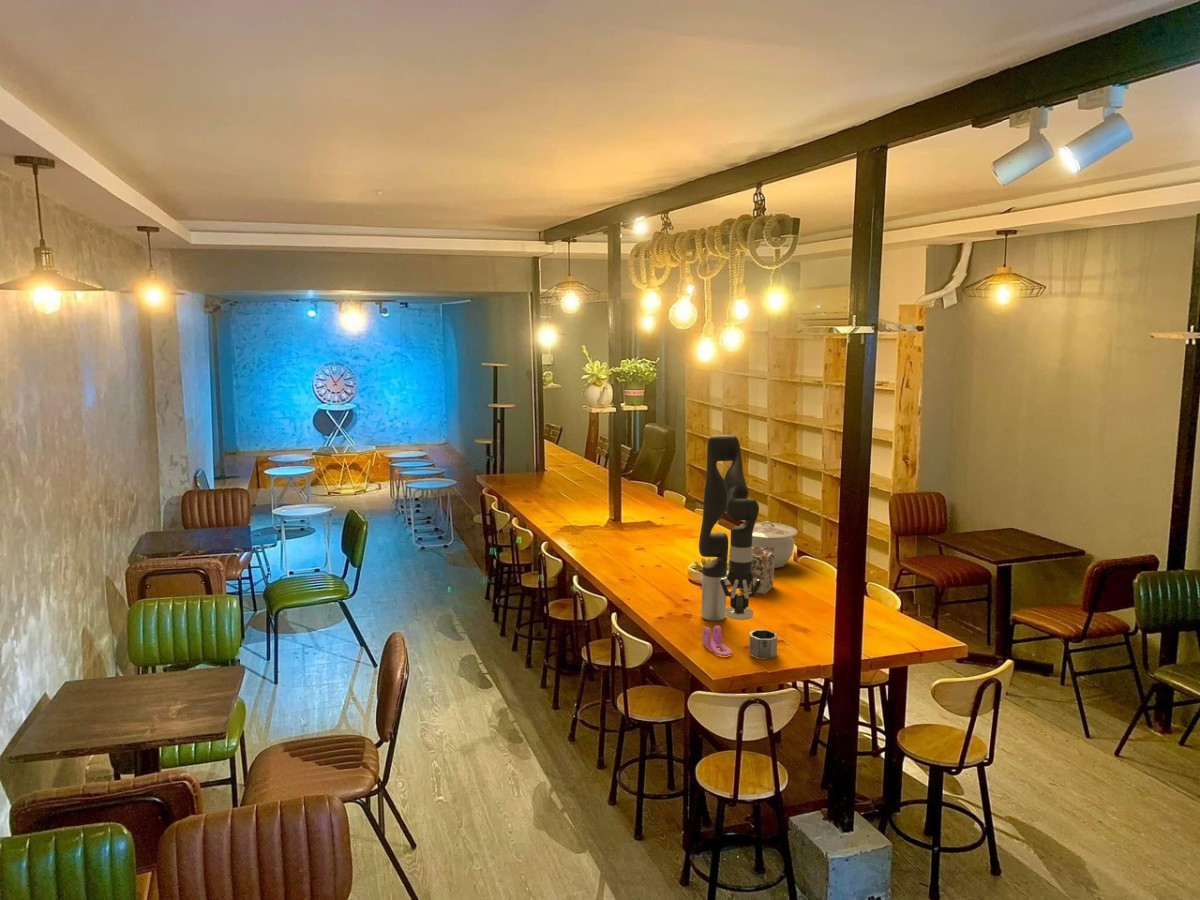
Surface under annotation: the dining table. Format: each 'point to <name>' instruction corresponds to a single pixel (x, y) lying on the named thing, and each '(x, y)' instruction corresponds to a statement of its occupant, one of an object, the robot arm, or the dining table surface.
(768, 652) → the pot
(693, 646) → the dining table surface
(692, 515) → the dining table surface
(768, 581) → the decorative jar
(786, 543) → the chamber pot
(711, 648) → the bracket
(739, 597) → the lid
